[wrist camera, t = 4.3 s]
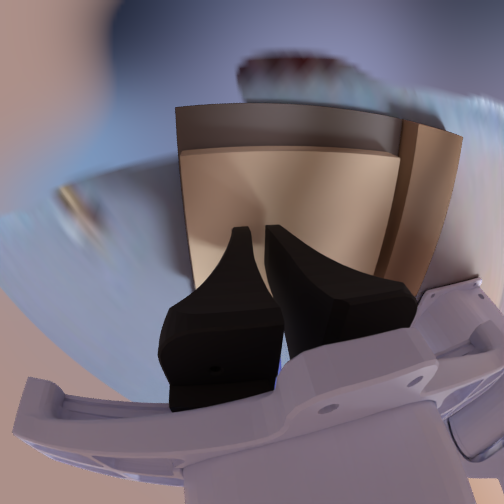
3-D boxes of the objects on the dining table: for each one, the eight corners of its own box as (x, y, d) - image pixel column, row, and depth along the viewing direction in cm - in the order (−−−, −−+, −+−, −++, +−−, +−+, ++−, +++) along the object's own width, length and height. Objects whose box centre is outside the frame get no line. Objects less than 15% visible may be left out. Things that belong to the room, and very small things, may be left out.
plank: (387, 152, 13) (400, 158, 12) (362, 272, 17) (370, 283, 16) (182, 150, 11) (179, 156, 10) (198, 291, 16) (198, 305, 15)
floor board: (446, 130, 12) (462, 136, 11) (406, 283, 19) (416, 295, 18) (176, 107, 11) (171, 108, 9) (198, 308, 17) (198, 325, 16)
